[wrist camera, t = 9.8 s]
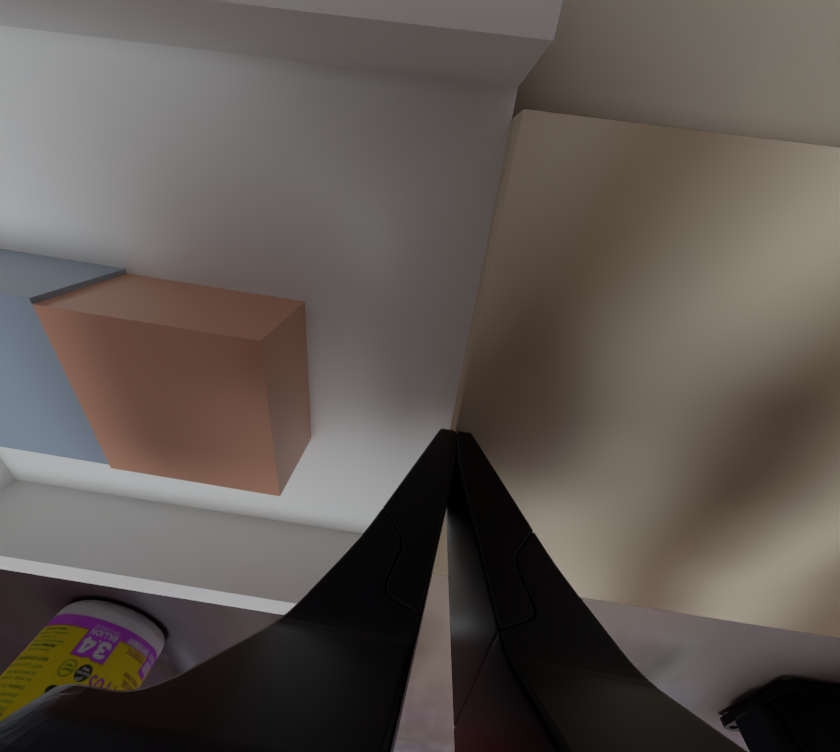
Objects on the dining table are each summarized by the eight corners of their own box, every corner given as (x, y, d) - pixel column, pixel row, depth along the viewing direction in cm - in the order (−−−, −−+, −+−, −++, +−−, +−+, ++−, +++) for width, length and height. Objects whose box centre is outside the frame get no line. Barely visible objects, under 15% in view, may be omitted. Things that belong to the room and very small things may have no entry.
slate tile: (125, 268, 10) (29, 298, 7) (170, 412, 12) (108, 464, 10) (-51, 240, 10) (-197, 262, 7) (31, 389, 12) (-59, 436, 10)
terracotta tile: (304, 301, 10) (260, 340, 7) (311, 438, 12) (279, 496, 10) (127, 273, 10) (31, 304, 7) (171, 415, 12) (110, 468, 10)
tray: (527, 25, 7) (582, -86, 4) (425, 546, 16) (417, 637, 13) (-391, -81, 7) (-996, -256, 4) (18, 483, 16) (-82, 555, 13)
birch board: (1347, 225, 7) (1631, 244, 5) (837, 588, 14) (888, 645, 13) (508, 121, 7) (523, 109, 6) (429, 525, 15) (425, 572, 13)
